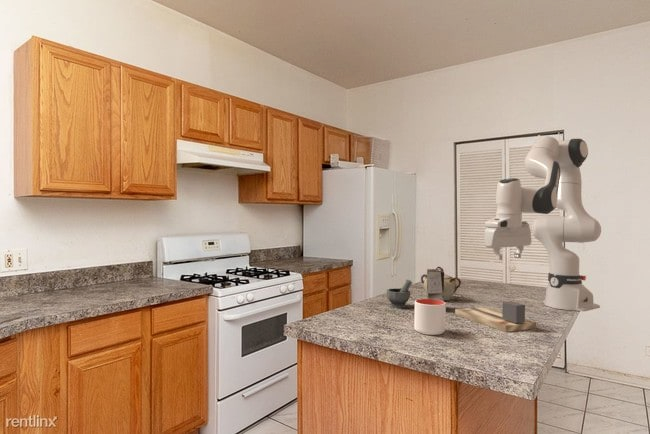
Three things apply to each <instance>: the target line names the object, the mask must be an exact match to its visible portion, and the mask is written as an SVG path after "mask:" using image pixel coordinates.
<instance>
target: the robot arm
mask: <svg viewBox="0 0 650 434" xmlns="http://www.w3.org/2000/svg"><path fill="white" fill-rule="evenodd" d="M588 155H589V148H588V145H587V143H586V141H585V140H583V139H582V138H571V139H567V140H566V139H565V140H558V139H556V138H555V137H553V136H549V135H548V136H543V137H540V138H539V139H537V141H535V142H534V144H533V145H532V146H531V148H530V149H529V150H528V153H527V154H526V156H525V159H524V161H523V162H524V163H523V164H524V168H525V170H526V172H527V173H529V174H530V175H531V176H532V177H535V178H540V179H543V180H544V179H545V180H544V184H543V185H542V186H534V187H533V186H532V187H523V186H522V184H521V179H519V178H517V177H516V178H514V177H513V178H504V179H500V180H499V181H498V183H497V186H496V194H495V203H496V212H495V216H494V217H493V218H490V219H488V220H486V221H485V223H484V225H485V230H484V246H485V247H486V248H489V249H492V251H493V253H494V255H495V260H496V261H497V260H498V261H502V260H503V254H501V253H500V252H501V248H513V247H515V248H516V251H515V252H514V258H515V259H521V258H522V253H523V251H524V248H525V246H526V247H527V246H529V247H530V245H531V244H532V235H533V237H534V239H536V240H537V241H539V242H540V243H541V244H542V245H543V247H544V248H545V249H546V251H547V256H548V264H549V270H548V271H549V272H548V274H547V281H548V283H547V284H546V292H545V298H544V299H543V303H544V305H545V306H547V307H549V308H553V309H559V310H566V311H576V312H588V311H592V310H596V309H597V310H598V309H600V308H601V306H600V304H597V303H594V295H593V293H592V292H591V291H590V290H589V289H588V288H587V287H586V286H585V285H583V281H586V279H587V276H586V275H580V257H579V255H578V254H576V253H575V252H574V251H571V250H570V249H568V248H566V247H565V246H564V245H563V243H581V244H582V243H583V244H584V243H591V242H596V241H597V240H598V239H599V238H600V236H601V233H602V226H601V224H600V222H599V221H598V220H597V219H596V218H594V217H593V216H592V215H590V214H589V213H588V212H587V211H586V209H585V207H584V205H583V199H582V183H583V182H582V174H581V168H580V167H581V166H582V165H583V163H584V162H585V161H586V160H587V157H588ZM556 208H557V209H558V210H560V211H563V212H565V213H566V214H567V215H566V216H543V217H537V218H535V220H534V221H533V222H532V224H531V228H530V223H528V222H527V221H523V219H522V218H523V213H524V214H527V213H529V214H530V213H531V214H542V215H543V214H544V215H549V214H550V213H551V212H553V211H554V210H555V209H556ZM531 233H532V234H531Z"/></svg>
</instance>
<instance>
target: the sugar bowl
mask: <svg viewBox="0 0 650 434" xmlns="http://www.w3.org/2000/svg"><path fill="white" fill-rule="evenodd" d="M436 269H442V270H443V271H444V269H443V268H442V266H437V267H436ZM444 272H445V271H444ZM424 277H425V278H424ZM420 281H421V283H422V285H423V288H424V290H425V292H426V293H427V274H422V275H421V276H420ZM457 281H458V283H457ZM461 283H462V281H461V279H460V278H459V277H453V276H451V275H448V274H446V273H444V301H449V300H451V298H452V297H453V295H455V293H456V292H457V290H458V289H459V288H460V286H461Z"/></svg>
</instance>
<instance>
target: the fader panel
mask: <svg viewBox="0 0 650 434" xmlns="http://www.w3.org/2000/svg"><path fill="white" fill-rule="evenodd" d="M454 315H456V316H459V317H462V318H465V319H467V320H470V321H473V322H476V323H478V324H481V325H485V326H488V327H491V328H493V329H496V330H499V331H502V332H503V333H507V332H508V333H509V332H515V331H523V330H530V329H537V321H534V320H530V319H526V318H525V322H523V323H514V322H510V321H507V320H504V319H502V311H500V310H496V309H492V308H489V307H486V306H476V307H475V306H474V307H463V308H456V309H454Z"/></svg>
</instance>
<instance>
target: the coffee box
mask: <svg viewBox="0 0 650 434" xmlns="http://www.w3.org/2000/svg"><path fill="white" fill-rule="evenodd" d="M442 269H443V268H442ZM442 269H439V268H438V269H435V268H434V269H433V268H432V269H430V268H427V269H426V270H427V271H426V275H427V292H426V299H436V300H441V301H444V302H445V300H444V274H445V271H443V270H444V269H443V270H442Z"/></svg>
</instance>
